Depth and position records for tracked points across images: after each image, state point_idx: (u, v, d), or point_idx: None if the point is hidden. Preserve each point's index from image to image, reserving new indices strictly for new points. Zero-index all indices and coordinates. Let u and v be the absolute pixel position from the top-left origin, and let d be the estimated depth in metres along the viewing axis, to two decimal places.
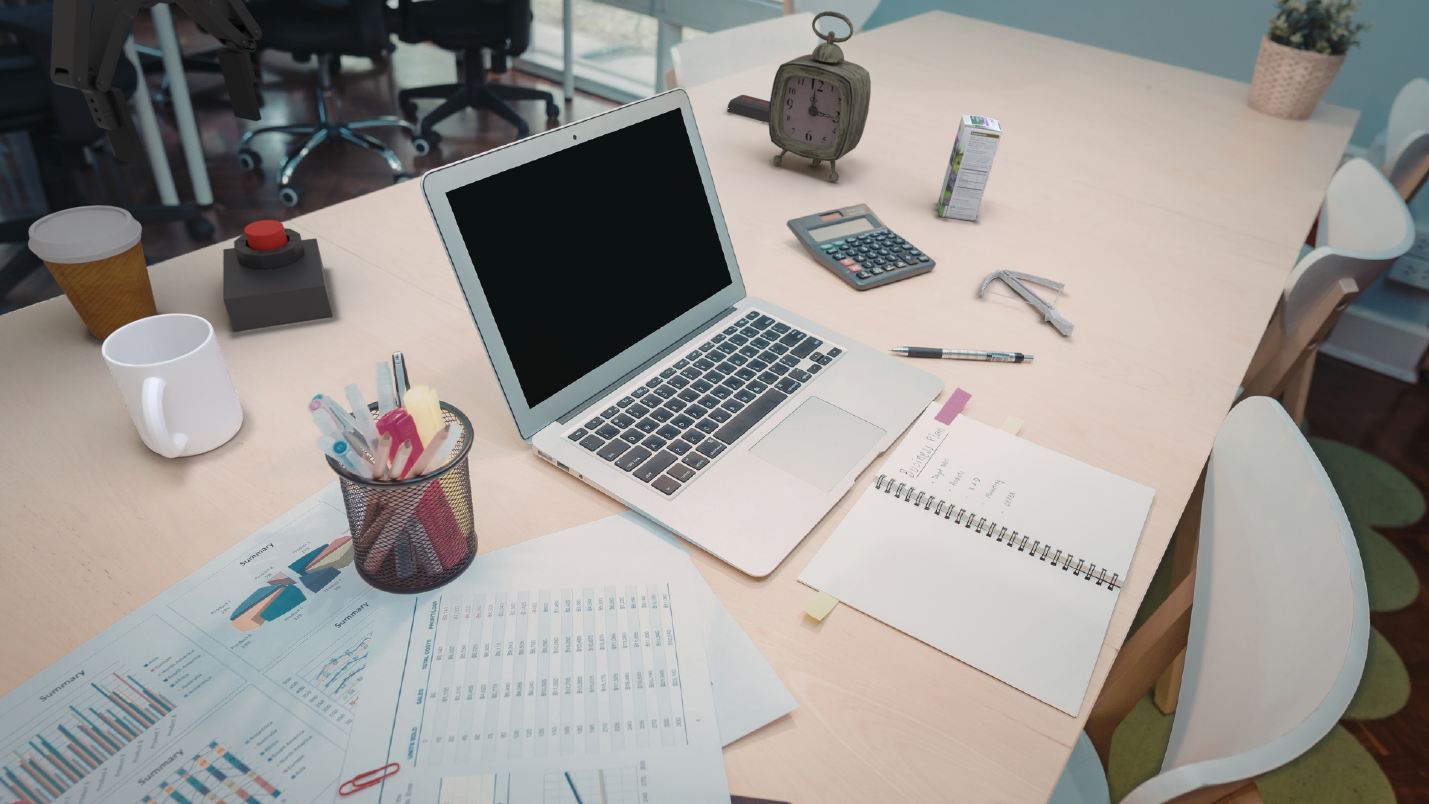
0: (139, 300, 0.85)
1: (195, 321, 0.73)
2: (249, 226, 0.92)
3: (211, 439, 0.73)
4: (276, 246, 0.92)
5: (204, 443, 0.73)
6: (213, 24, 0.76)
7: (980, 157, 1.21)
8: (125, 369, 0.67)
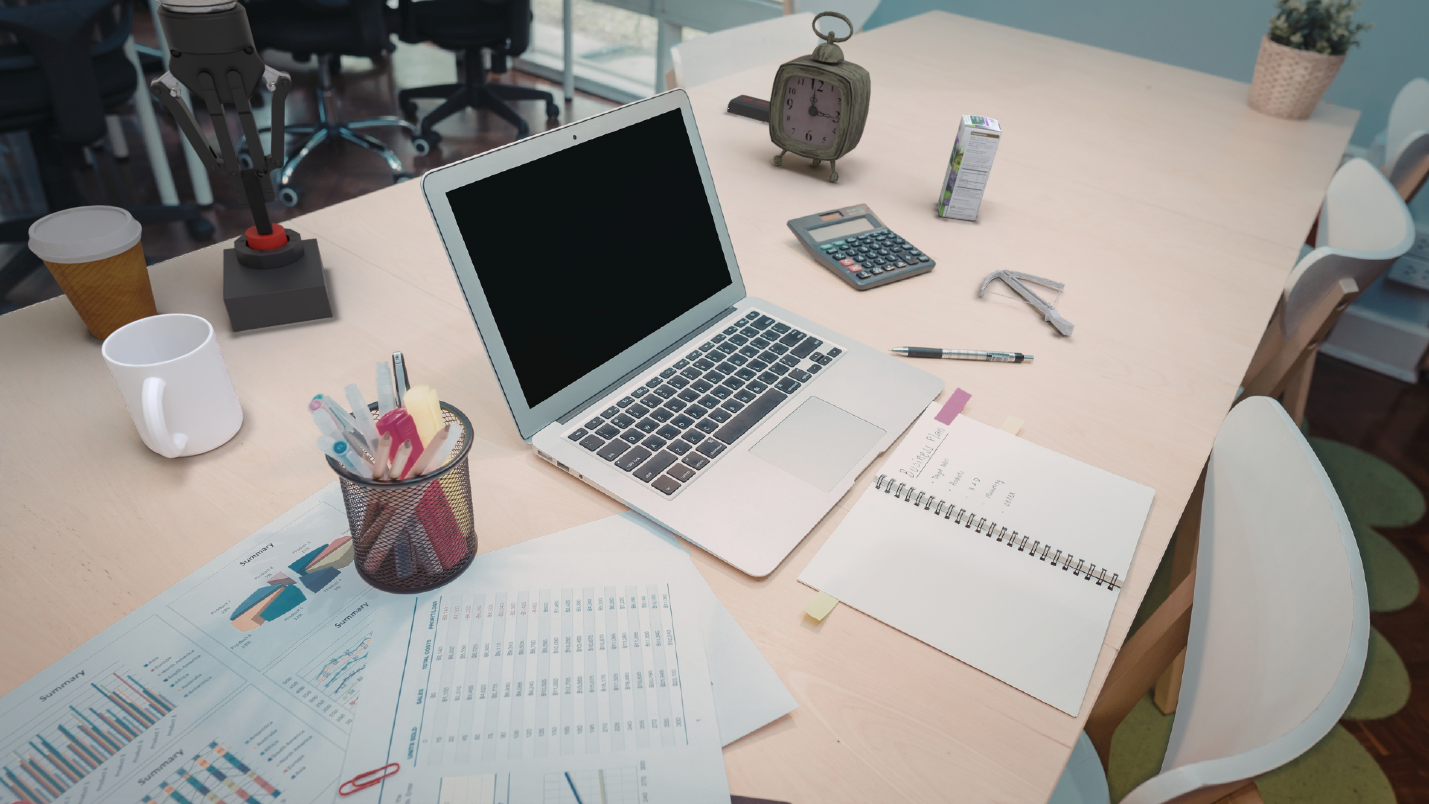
0: (139, 300, 0.85)
1: (195, 321, 0.73)
2: (250, 229, 0.93)
3: (211, 439, 0.73)
4: None
5: (204, 443, 0.73)
6: None
7: (980, 157, 1.21)
8: (125, 369, 0.67)
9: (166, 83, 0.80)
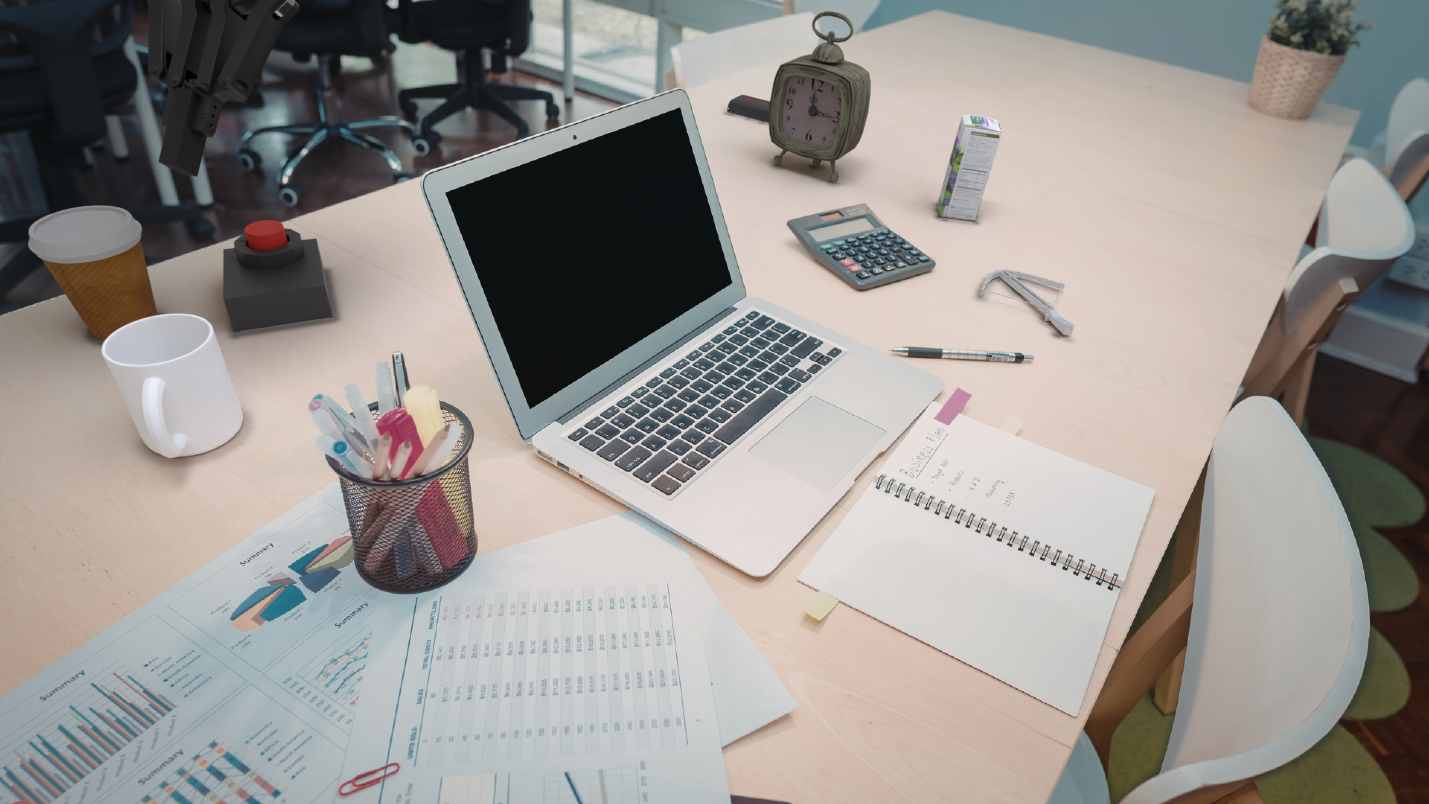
0: (139, 300, 0.85)
1: (195, 321, 0.73)
2: (249, 226, 0.92)
3: (211, 439, 0.73)
4: (276, 246, 0.92)
5: (204, 443, 0.73)
6: (207, 44, 0.68)
7: (980, 157, 1.21)
8: (125, 369, 0.67)
9: None
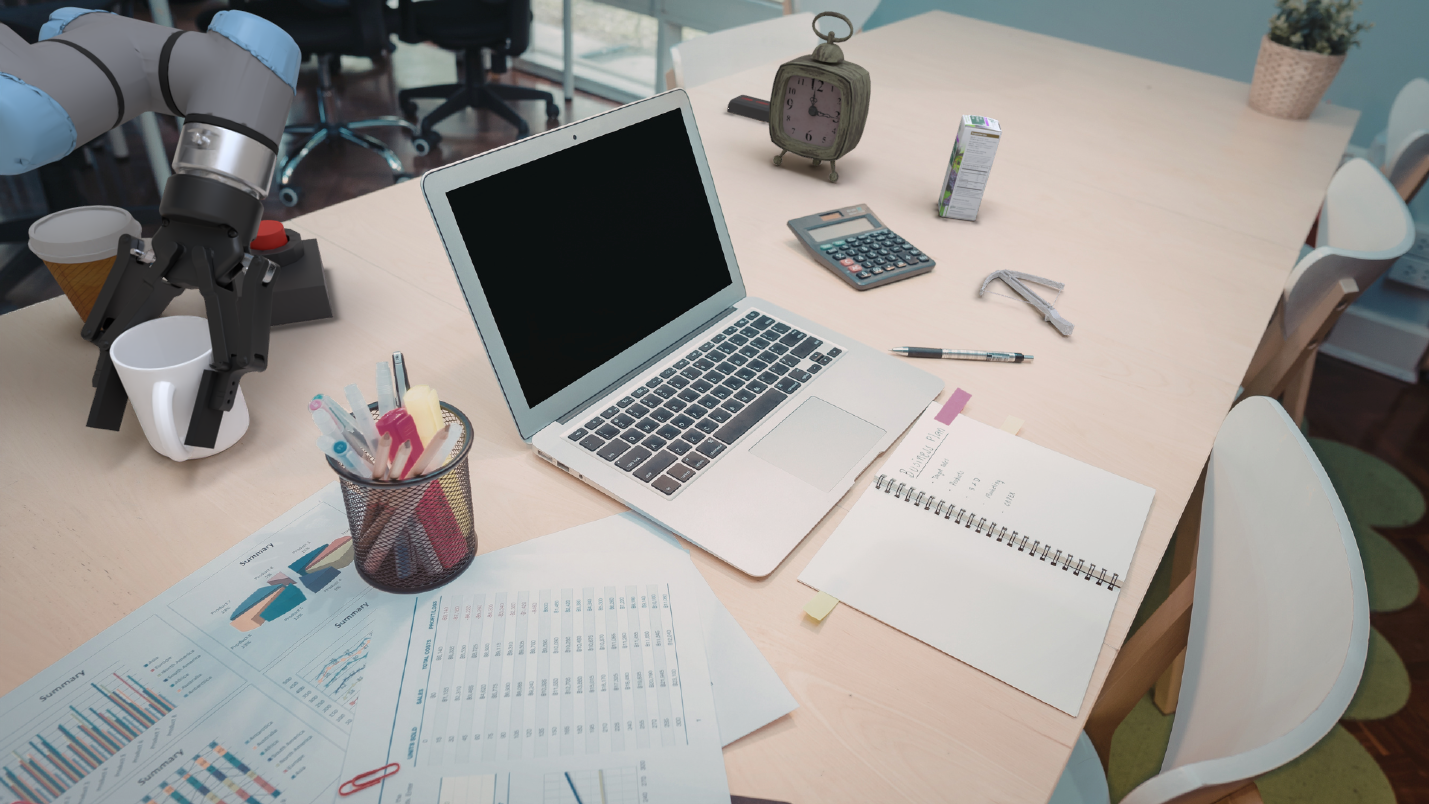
0: None
1: (202, 324, 0.72)
2: None
3: (219, 442, 0.73)
4: (276, 246, 0.92)
5: None
6: (210, 327, 0.69)
7: (980, 157, 1.21)
8: (135, 373, 0.66)
9: (141, 244, 0.71)
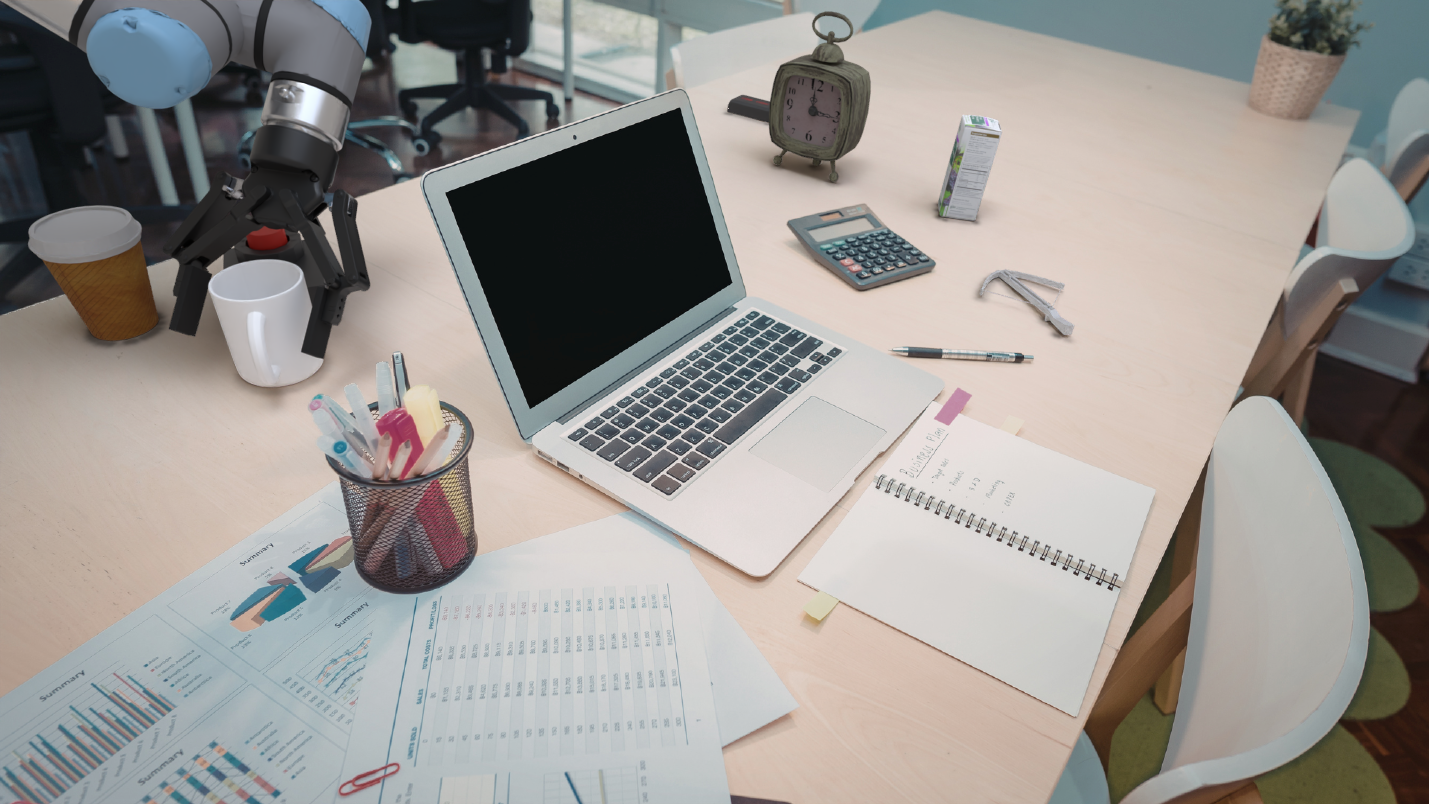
0: (139, 300, 0.85)
1: (284, 266, 0.82)
2: None
3: (300, 371, 0.82)
4: (276, 246, 0.92)
5: (294, 375, 0.82)
6: (313, 255, 0.78)
7: (980, 157, 1.21)
8: (232, 304, 0.75)
9: (234, 182, 0.80)
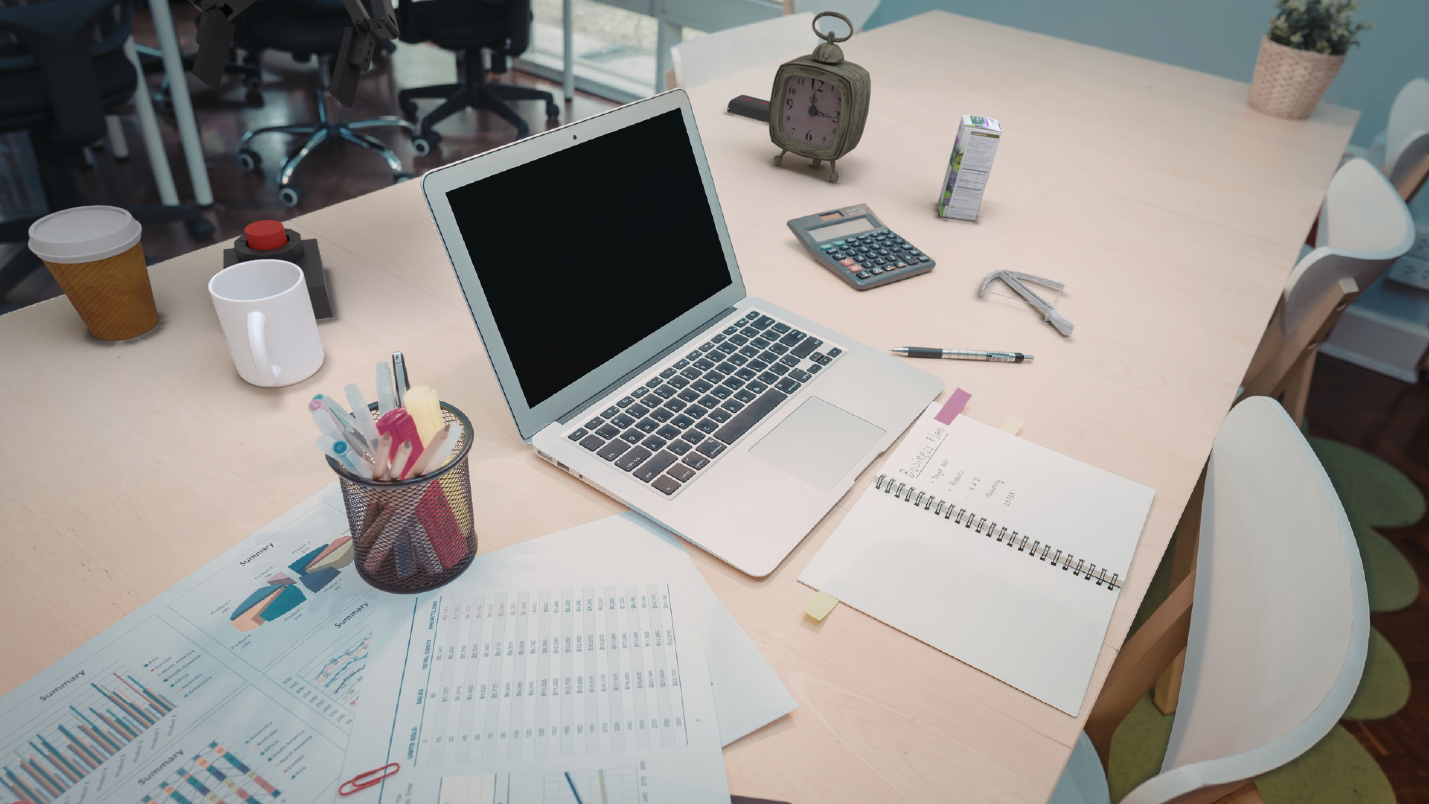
0: (139, 300, 0.85)
1: (284, 266, 0.82)
2: (249, 226, 0.92)
3: (300, 371, 0.82)
4: (276, 246, 0.92)
5: (294, 375, 0.82)
6: None
7: (980, 157, 1.21)
8: (232, 304, 0.75)
9: None
